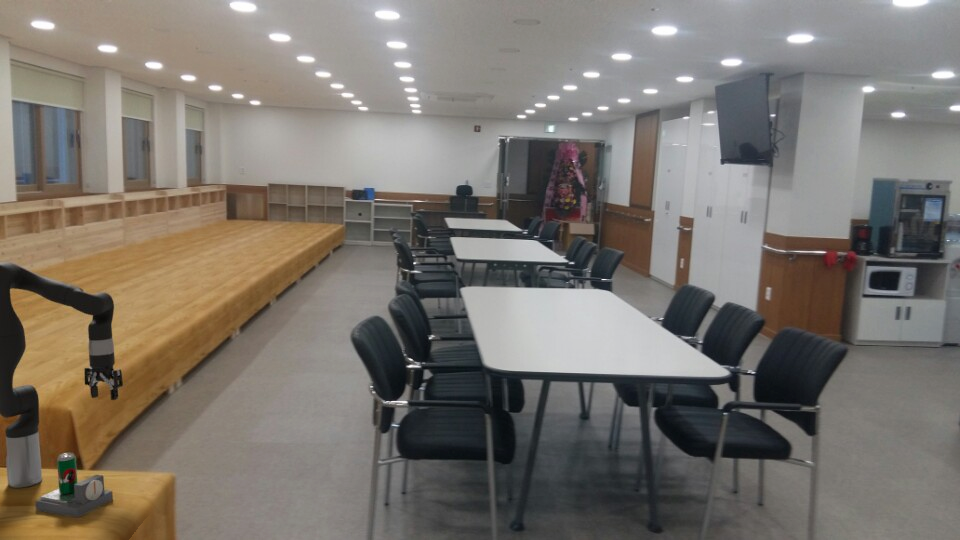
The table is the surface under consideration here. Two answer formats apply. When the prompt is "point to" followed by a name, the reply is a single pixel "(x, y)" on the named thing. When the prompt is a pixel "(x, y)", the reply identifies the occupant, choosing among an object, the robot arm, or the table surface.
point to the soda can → (67, 473)
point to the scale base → (80, 498)
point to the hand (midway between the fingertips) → (104, 398)
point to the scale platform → (59, 497)
